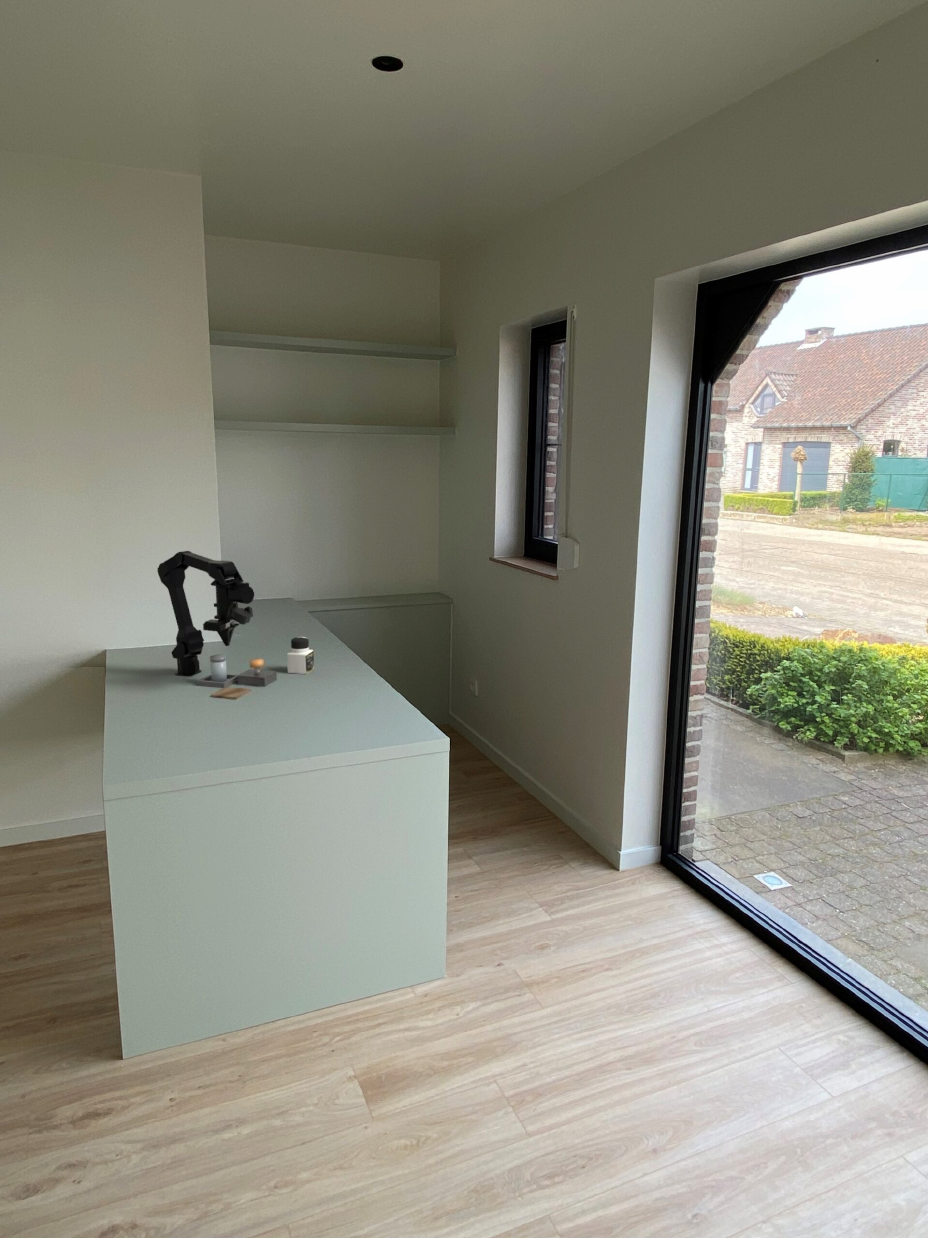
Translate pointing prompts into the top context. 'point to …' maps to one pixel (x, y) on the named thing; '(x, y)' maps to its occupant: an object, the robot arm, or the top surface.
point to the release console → (257, 677)
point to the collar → (207, 682)
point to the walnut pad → (230, 693)
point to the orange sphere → (256, 665)
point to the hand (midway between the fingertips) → (227, 645)
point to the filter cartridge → (218, 668)
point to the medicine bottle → (300, 656)
